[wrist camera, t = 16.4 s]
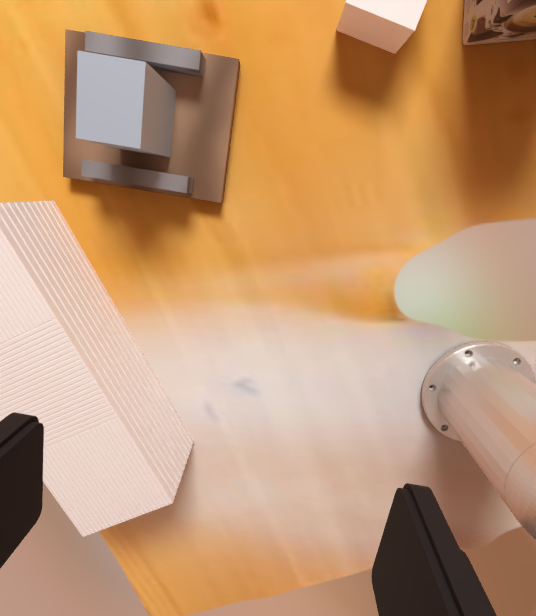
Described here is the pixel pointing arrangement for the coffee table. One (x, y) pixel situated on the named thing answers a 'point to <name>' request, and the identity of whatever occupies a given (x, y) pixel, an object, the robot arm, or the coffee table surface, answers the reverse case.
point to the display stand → (186, 127)
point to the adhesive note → (381, 21)
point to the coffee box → (498, 21)
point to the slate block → (123, 104)
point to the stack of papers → (81, 377)
